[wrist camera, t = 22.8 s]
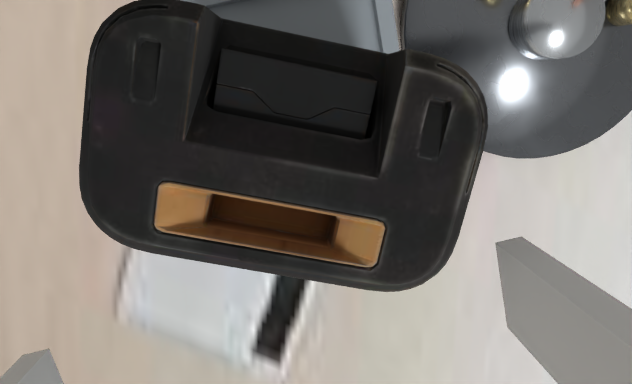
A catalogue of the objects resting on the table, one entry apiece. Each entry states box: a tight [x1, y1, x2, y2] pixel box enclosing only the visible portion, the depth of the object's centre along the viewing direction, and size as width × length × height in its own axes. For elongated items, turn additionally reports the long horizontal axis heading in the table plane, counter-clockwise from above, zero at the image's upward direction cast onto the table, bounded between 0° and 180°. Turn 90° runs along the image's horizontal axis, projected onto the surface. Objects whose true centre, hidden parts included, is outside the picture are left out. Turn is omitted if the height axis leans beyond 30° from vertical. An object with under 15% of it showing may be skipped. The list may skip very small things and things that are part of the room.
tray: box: [181, 0, 399, 54], centre depth 29 cm, size 14×16×2 cm
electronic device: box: [79, 0, 488, 292], centre depth 20 cm, size 9×6×20 cm, turn 79°
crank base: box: [401, 0, 632, 158], centre depth 27 cm, size 17×17×4 cm
